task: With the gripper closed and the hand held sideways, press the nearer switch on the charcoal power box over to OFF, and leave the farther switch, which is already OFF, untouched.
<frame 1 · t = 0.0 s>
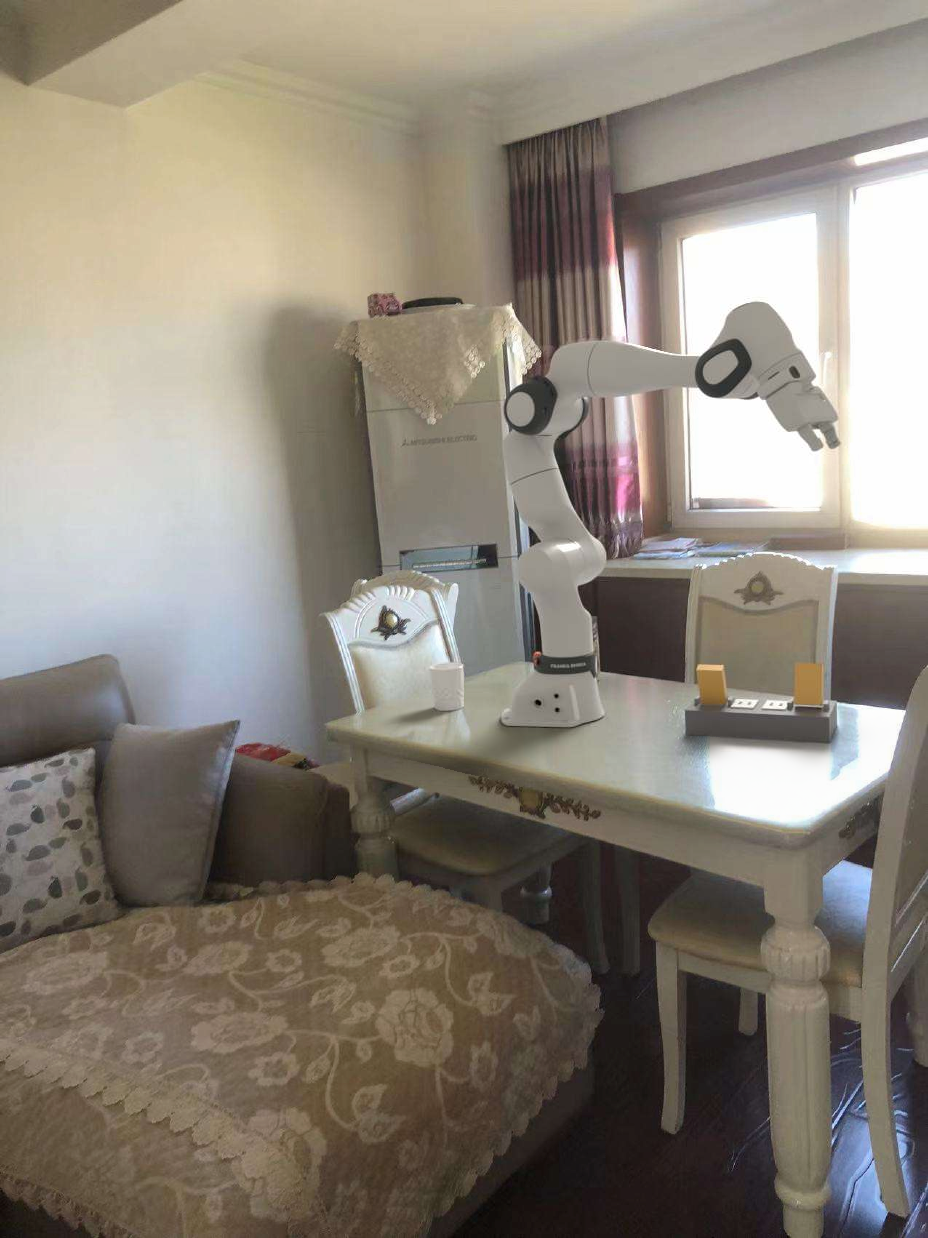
hand: (827, 448, 174), 54 cm above the table, tool tilted 30°, fingers open, 8 cm apart
switch 2: (808, 684, 192), point 9 cm above the table, hinge at -20.0°
white cup: (449, 708, 233), on the table
switch 1: (712, 684, 198), point 9 cm above the table, hinge at 20.0°
power box: (761, 729, 197), on the table
coffee box: (585, 683, 246), on the table
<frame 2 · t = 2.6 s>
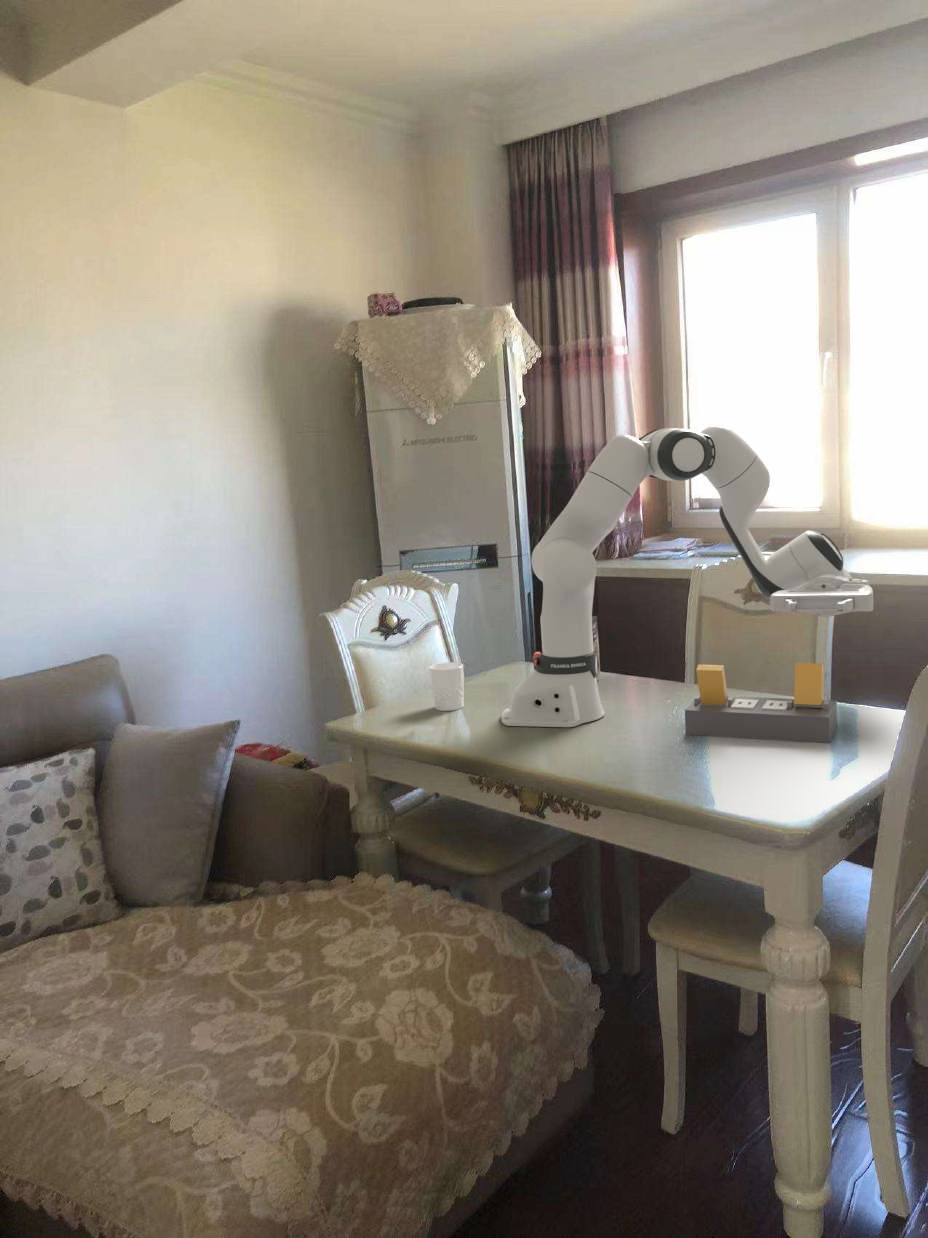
hand: (816, 607, 200), 22 cm above the table, tool horizontal, fingers open, 8 cm apart
nothing on the table moved.
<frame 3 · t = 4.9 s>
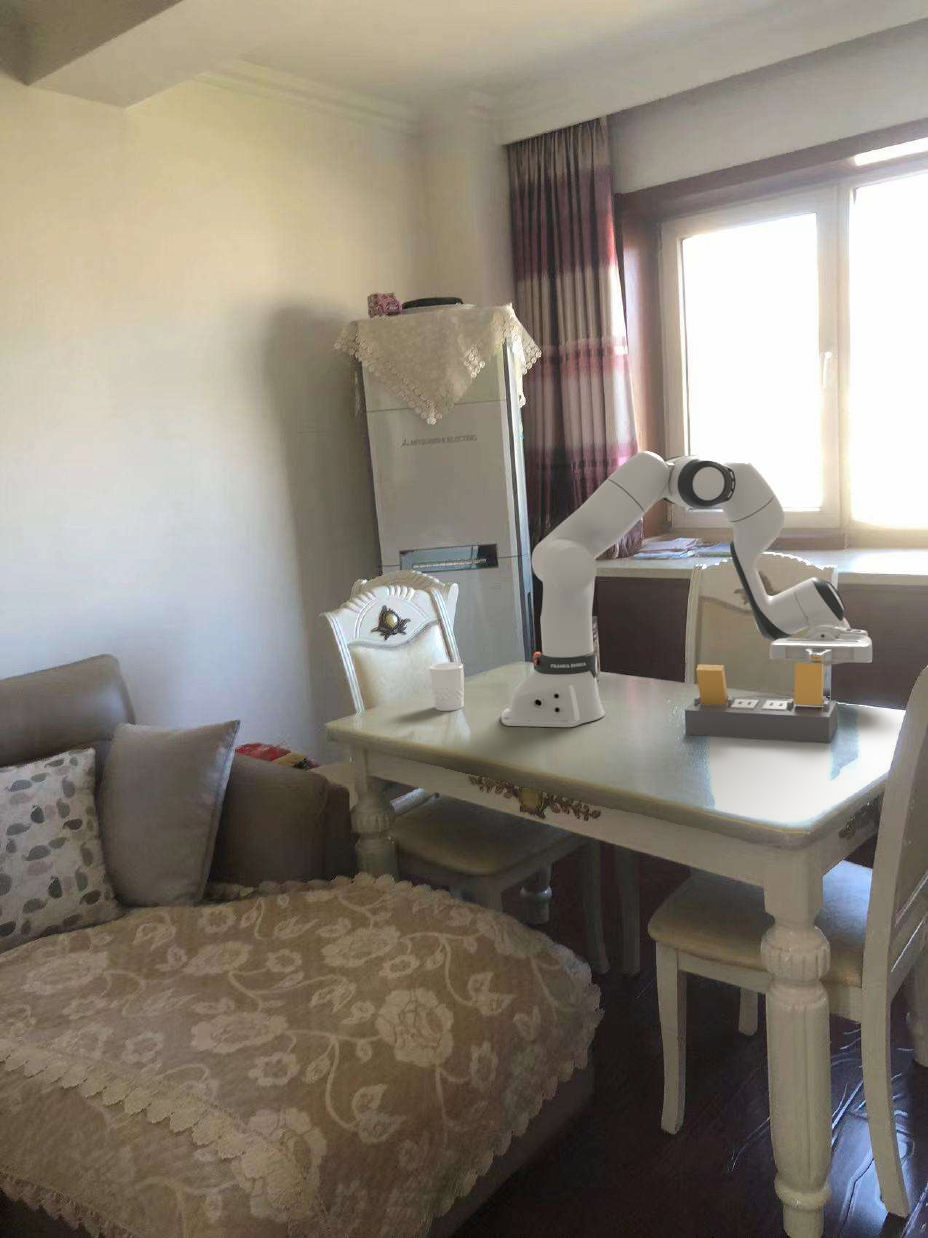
hand: (816, 658, 201), 12 cm above the table, tool horizontal, fingers closed
nothing on the table moved.
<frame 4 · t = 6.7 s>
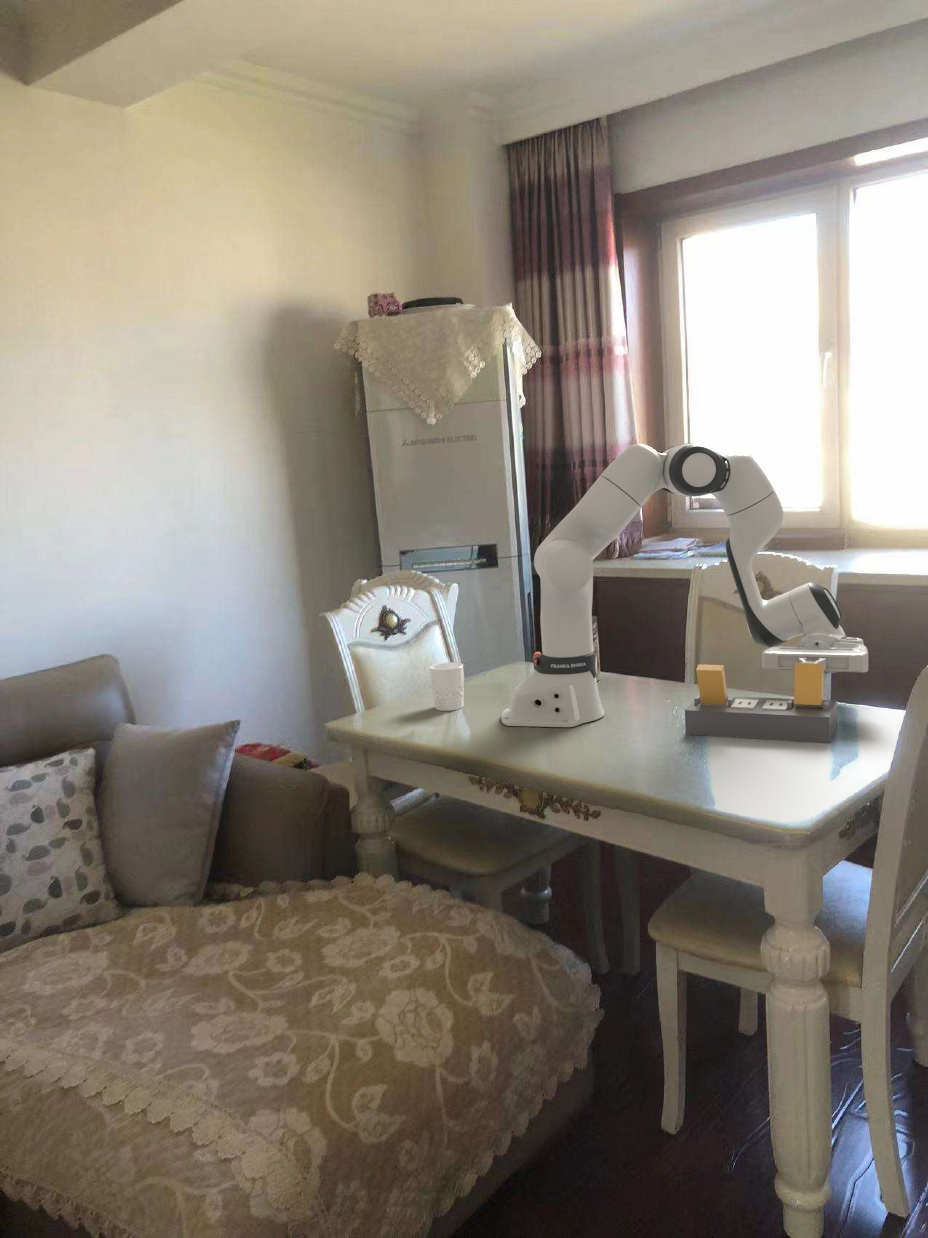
hand: (809, 667, 194), 12 cm above the table, tool horizontal, fingers closed, pressing on switch 2
switch 2: (808, 684, 192), point 9 cm above the table, hinge at -19.5°, touching gripper
everything else where it was.
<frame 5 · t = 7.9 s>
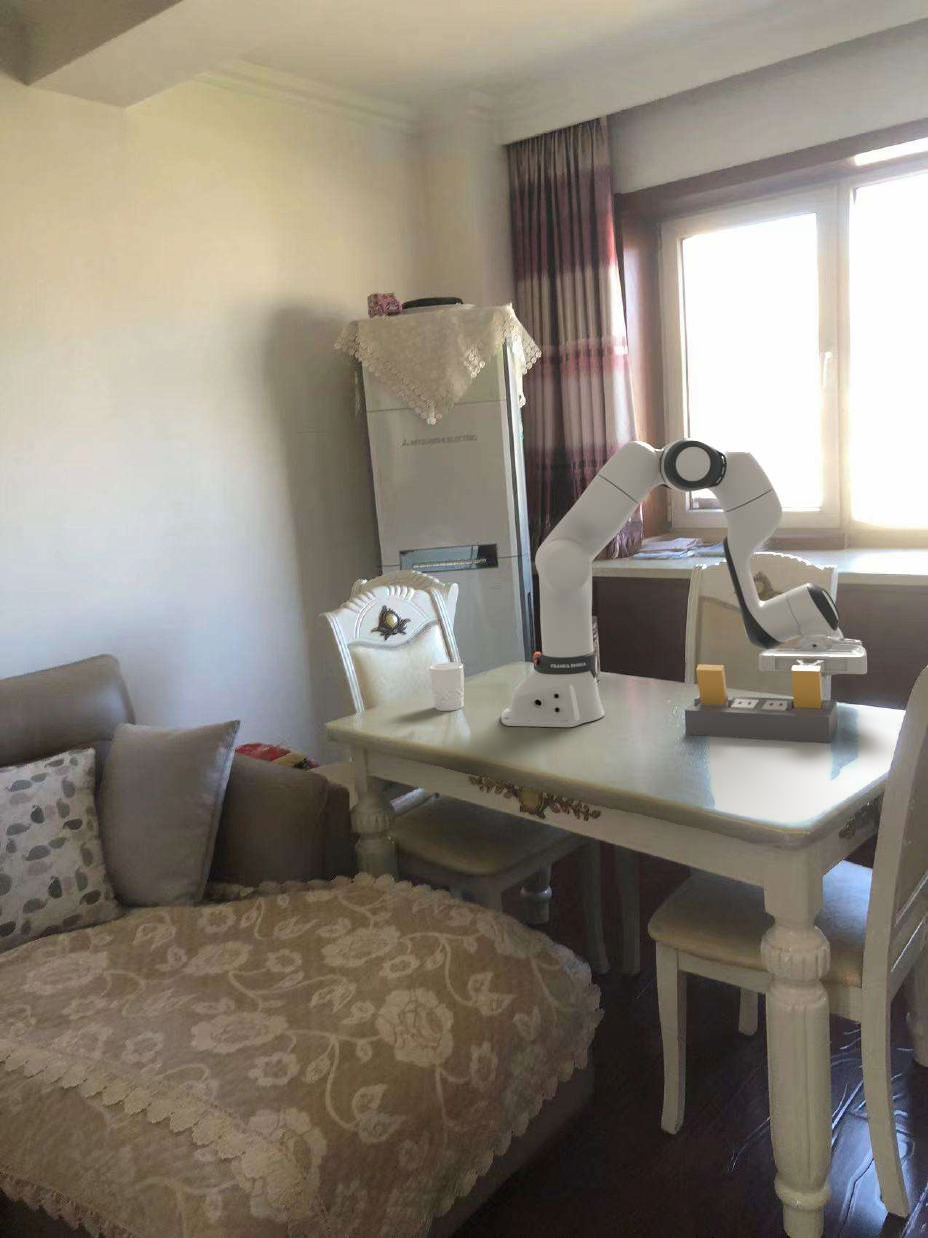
hand: (807, 669, 190), 13 cm above the table, tool horizontal, fingers closed, pressing on switch 2
switch 2: (807, 686, 190), point 9 cm above the table, hinge at 14.5°, touching gripper
everything else where it was.
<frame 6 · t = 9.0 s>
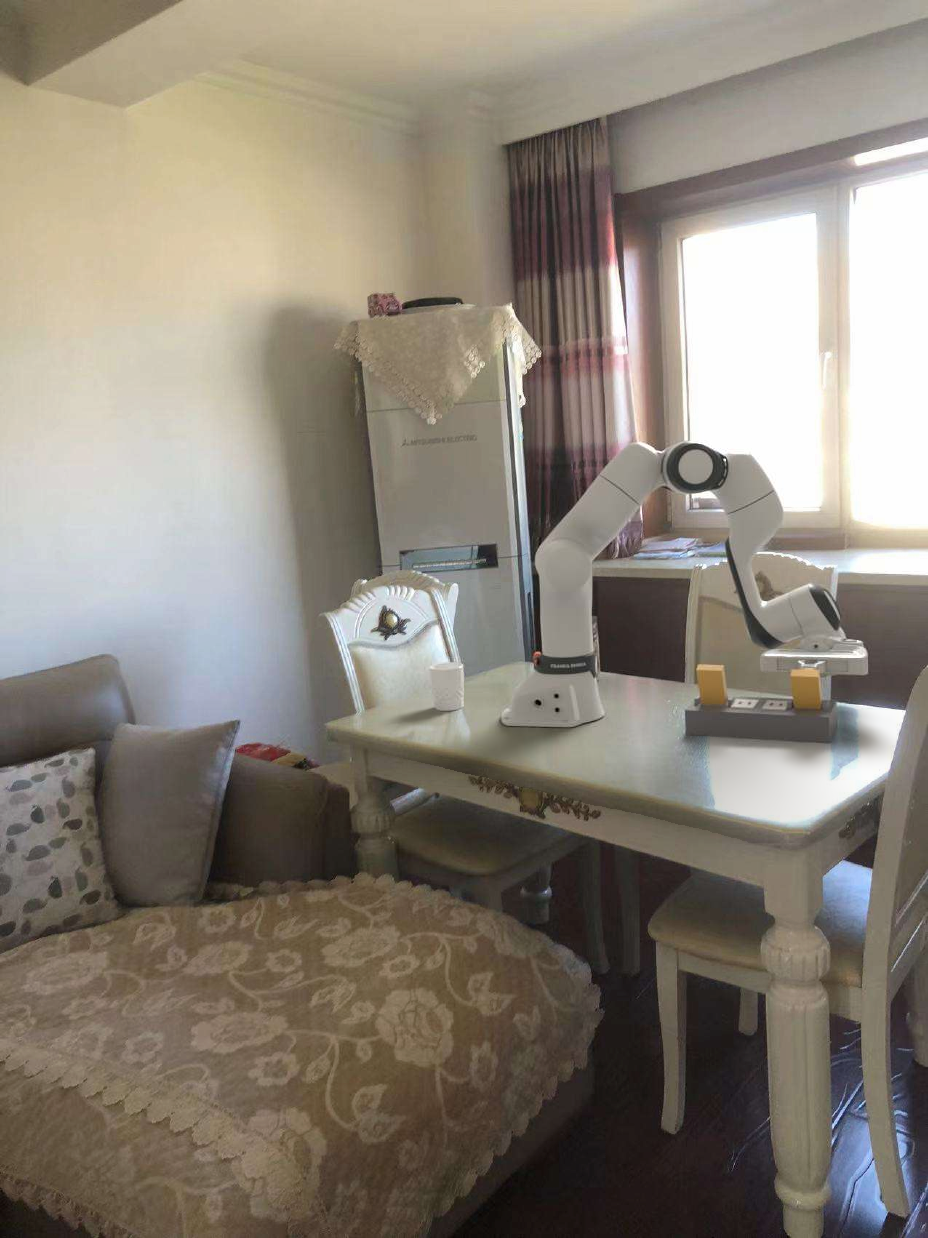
hand: (808, 670, 191), 12 cm above the table, tool horizontal, fingers closed
switch 2: (806, 689, 189), point 9 cm above the table, hinge at 26.6°
everything else where it was.
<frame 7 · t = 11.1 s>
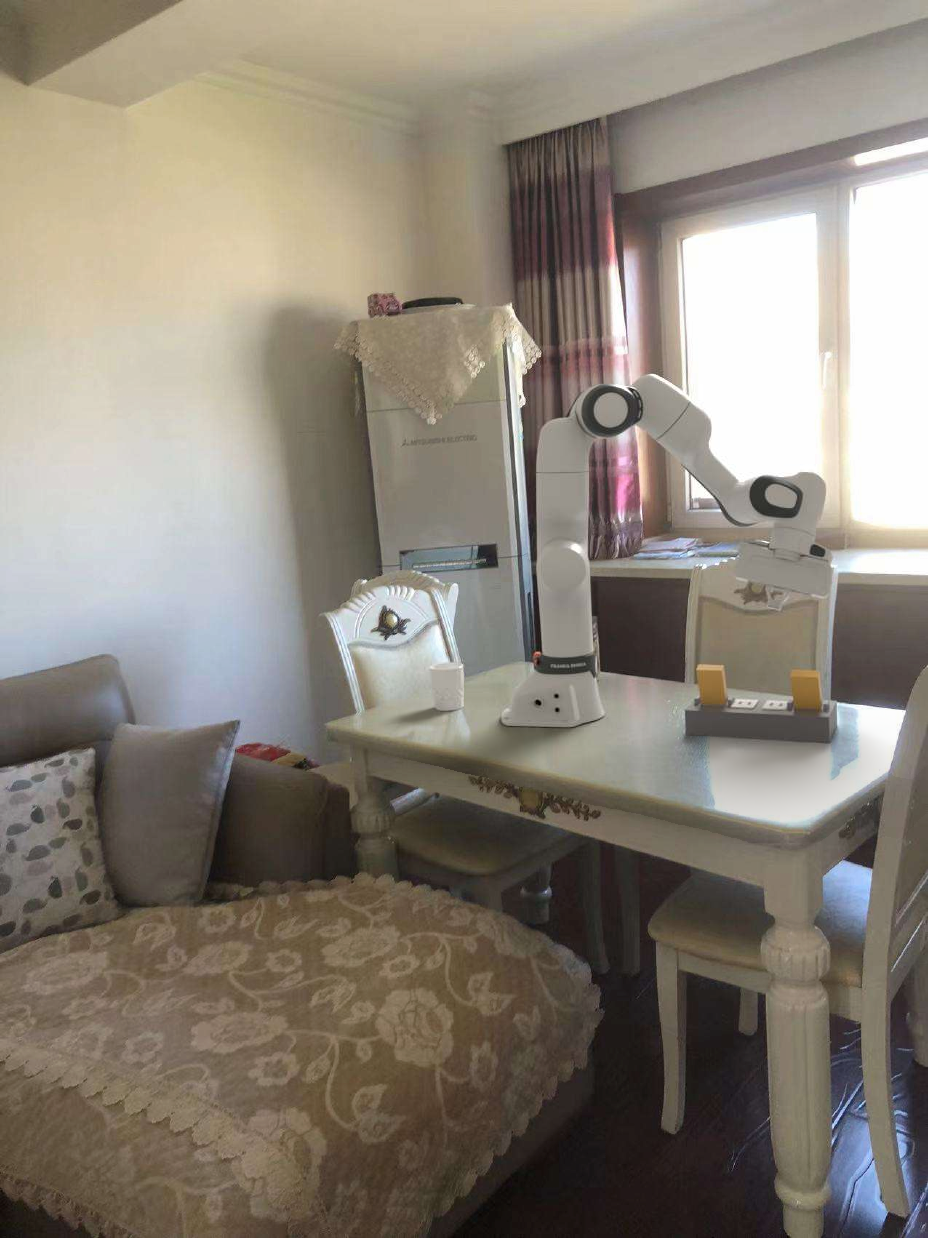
hand: (773, 608, 211), 21 cm above the table, tool tilted 25°, fingers closed
switch 2: (806, 689, 189), point 9 cm above the table, hinge at 27.1°
everything else where it was.
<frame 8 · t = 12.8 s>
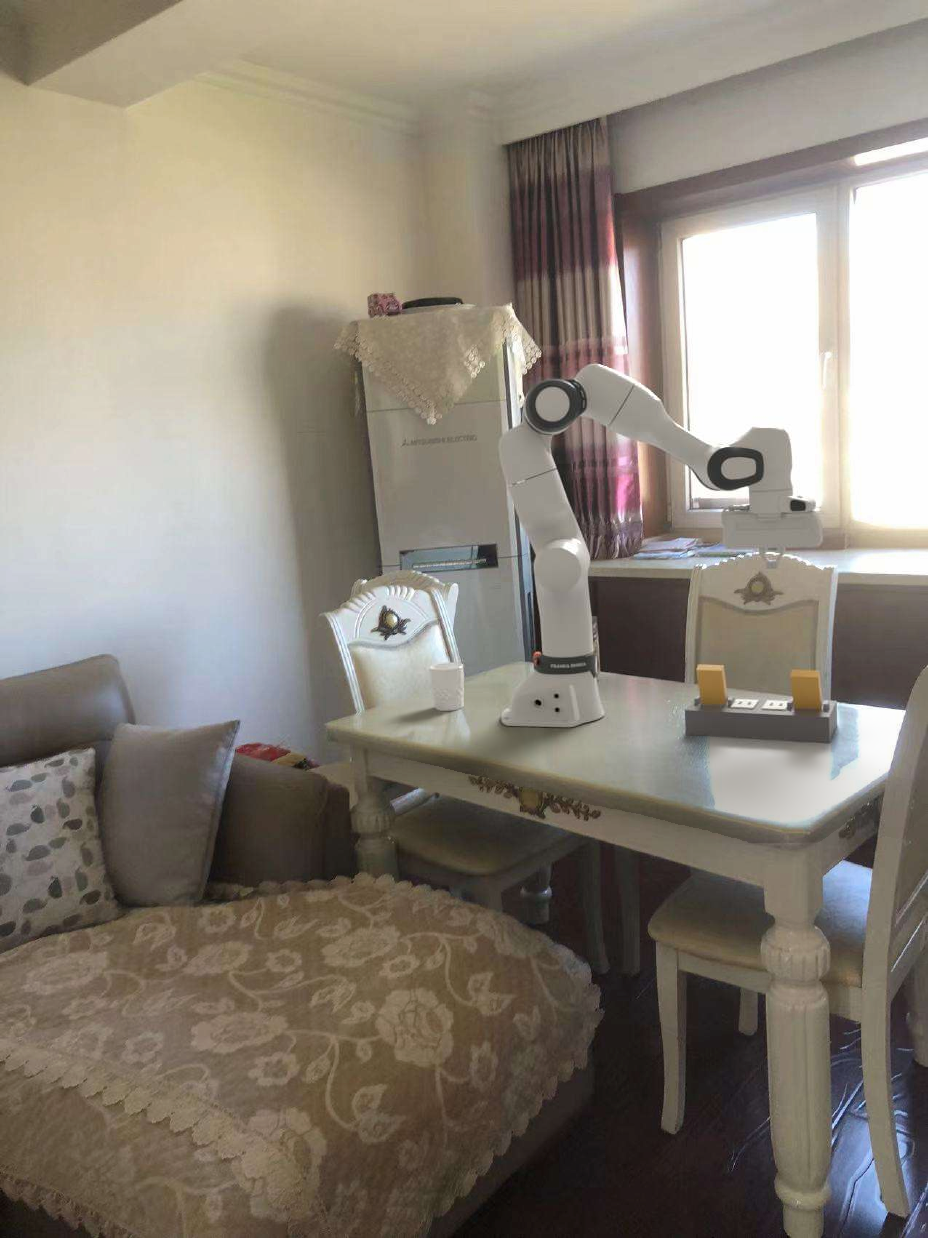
hand: (772, 568, 211), 29 cm above the table, tool pointing down, fingers closed
nothing on the table moved.
at the end: switch 2 at +27° (first picture: -20°); switch 1 at +20° (first picture: +20°) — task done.
